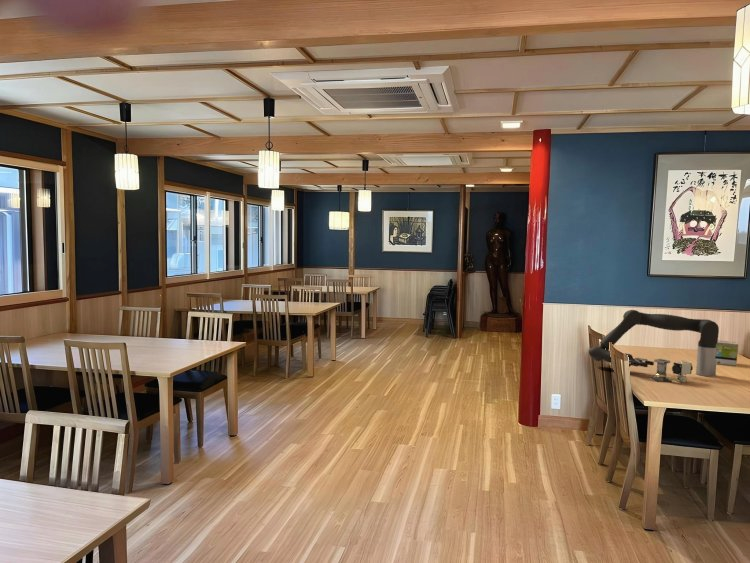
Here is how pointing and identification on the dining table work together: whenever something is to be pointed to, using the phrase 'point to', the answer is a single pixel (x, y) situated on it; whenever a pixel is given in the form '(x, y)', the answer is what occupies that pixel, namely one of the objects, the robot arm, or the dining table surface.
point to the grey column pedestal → (661, 369)
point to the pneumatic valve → (682, 370)
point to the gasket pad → (660, 380)
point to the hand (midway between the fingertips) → (650, 364)
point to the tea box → (726, 352)
